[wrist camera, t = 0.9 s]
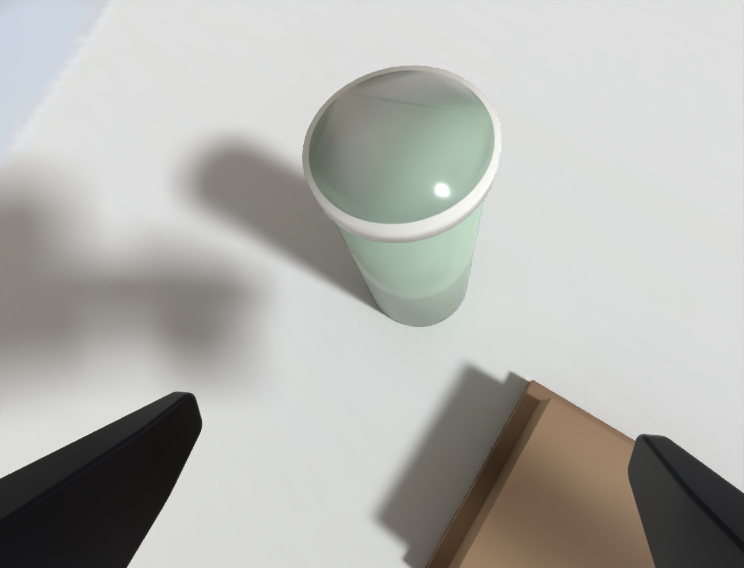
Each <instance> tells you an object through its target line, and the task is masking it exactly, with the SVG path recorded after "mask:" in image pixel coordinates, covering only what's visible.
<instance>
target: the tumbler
mask: <svg viewBox="0 0 744 568" xmlns="http://www.w3.org/2000/svg"><path fill="white" fill-rule="evenodd" d="M501 148H502V132H501V125H500V122H499V118H498V115H497V113H496V111H495V109H494V107H493V105H492V104H491V102H490V101H489V99H488V98H487V97H486V96H485V95H484V93H483V92H482V91H481V90H480V89H479V88H477V87H476V86H475V85H473V84H472V83H471V82H469V81H468V80H466V79H464V78H463V77H461V76H459V75H456V74H454V73H452V72H449V71H446V70H442V69H439V68H433V67H428V66H399V67H391V68H387V69H383V70H379V71H376V72H373V73H370V74H367V75H365V76H363V77H360V78H358V79H356V80H354V81H353V82H351V83H349V84H347V85H346V86H344V87H343V88H342V89H340V90H339V91H337V92H336V93H335V94H334V95H333V96H332V97H331V98H329V99H328V100H327V102H326V103H325V104H324V105H323V106H322V107H321V108H320V110H319V111H318V112H317V114H316V115H315V117H314V119H313V120H312V122H311V124H310V126H309V128H308V131H307V134H306V136H305V141H304V145H303V154H302V159H303V169H304V173H305V177H306V180H307V182H308V185H309V187H310V189H311V191H312V192H313V194H314V196H315V198H316V200H317V202H318V203H319V205H320V207H321V208H322V210H323V211H324V212H325V213H326V215H327V216H328V217H329V218H330V219H331V220H332V221H333V222H335V223H336V225H337V227H338V229H339V231H340V233H341V235H342V237H343V239H344V241H345V243H346V245H347V246H348V248H349V250H350V252H351V254H352V256H353V258H354V260H355V262H356V264H357V266H358V268H359V270H360V272H361V274H362V276H363V278H364V280H365V282H366V284H367V285H368V287H369V289H370V291H371V293H372V295H373V297H374V299H375V301H376V303H377V304H378V306H379V308H380V309H381V310H382V311H383V312H384V313H385V314H386V315H387V316H388V317H389V318H391V319H392V320H394V321H396V322H398V323H401V324H403V325H407V326H413V327H424V326H430V325H434V324H437V323H439V322H442V321H443V320H445V319H447V318H448V317H450V316H451V315H452V314H453V313H454V312H455V311H456V310H457V309H458V308H459V306H460V305H461V303H462V301H463V300H464V297H465V295H466V291H467V286H468V281H469V276H470V271H471V266H472V260H473V255H474V250H475V245H476V240H477V234H478V229H479V224H480V219H481V214H482V209H483V203H484V199H485V197H486V196H487V194H488V192H489V190H490V189H491V187H492V184H493V181H494V179H495V176H496V172H497V167H498V162H499V158H500V153H501Z"/></svg>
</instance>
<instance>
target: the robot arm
mask: <svg viewBox="0 0 744 568" xmlns="http://www.w3.org/2000/svg"><path fill="white" fill-rule="evenodd" d="M201 429H202V418H201V415H200V411H199V408H198V404H197V400H196V397H195V396H194V395H193V394H192V393H189V392H173V393H171V394H169V395H167V396H165V397H163V398H161V399H159V400H157V401H155V402H153V403H151V404H149V405H147V406H145V407H143V408H141V409H139V410H137V411H135V412H133V413H131V414H129V415H127V416H125V417H123V418H121V419H119V420H117V421H115V422H113V423H111V424H109V425H107V426H105V427H103V428H101V429H99V430H97V431H95V432H93V433H91V434H89V435H87V436H85V437H83V438H81V439H79V440H77V441H75V442H73V443H71V444H69V445H67V446H65V447H63V448H61V449H59V450H57V451H55V452H53V453H51V454H49V455H47V456H45V457H43V458H41V459H39V460H37V461H35V462H33V463H31V464H29V465H27V466H25V467H23V468H21V469H19V470H17V471H15V472H13V473H11V474H9V475H7V476H5V477H3V478H1V479H0V568H127V566H128V565H129V563H130V561H131V560H132V558H133V556H134V555H135V553H136V551H137V550H138V548H139V546H140V545H141V543H142V541H143V540H144V538H145V537H146V535H147V533H148V532H149V530H150V528H151V527H152V525H153V523H154V522H155V520H156V518H157V517H158V515H159V513H160V512H161V510H162V508H163V506H164V505H165V503H166V501H167V499H168V498H169V496H170V494H171V492H172V490H173V488H174V486H175V484H176V482H177V480H178V478H179V476H180V474H181V472H182V470H183V467H184V465H185V463H186V461H187V459H188V457H189V455H190V453H191V451H192V449H193V447H194V445H195V443H196V441H197V439H198V437H199V435H200V432H201ZM628 478H629V482H630V485H631V489H632V492H633V495H634V499H635V502H636V505H637V509H638V512H639V515H640V519H641V522H642V525H643V529H644V532H645V535H646V539H647V542H648V545H649V549H650V552H651V555H652V558H653V562H654V565H655V568H744V493H743V492H741V491H740V490H739V489H737V488H736V487H735V486H733V485H732V484H730V483H729V482H728V481H726V480H725V479H724V478H722V477H721V476H720V475H718V474H717V473H715V472H714V471H713V470H711V469H710V468H709V467H707V466H706V465H704V464H703V463H702V462H700V461H699V460H698V459H696V458H695V457H693V456H692V455H691V454H689V453H688V452H687V451H685V450H684V449H683V448H681V447H680V446H678V445H677V444H676V443H674V442H673V441H672V440H670V439H669V438H667V437H665V436H660V435H649V434H641V435H639V436H638V437H637V439H636V441H635V444H634V448H633V451H632V455H631V458H630V461H629V465H628Z"/></svg>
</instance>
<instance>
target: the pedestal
mask: <svg viewBox="0 0 744 568" xmlns="http://www.w3.org/2000/svg"><path fill="white" fill-rule="evenodd" d="M634 444H635V441H634V440H633V439H631V438H629V437H628V436H626V435H624V434H623V433H621V432H619V431H618V430H616V429H614V428H613V427H611V426H609V425H608V424H606V423H604V422H603V421H601V420H599V419H598V418H596V417H594V416H593V415H591V414H589V413H588V412H586V411H584V410H583V409H581V408H579V407H577V406H576V405H574V404H572V403H571V402H569V401H567V400H566V399H564V398H562V397H561V396H559V395H557V394H556V393H554V392H552V391H551V390H549V389H547V388H546V387H544V386H542V385H541V384H539V383H537V382H536V381H534V380H532V381H530V382H529V384H528V386H527V387H526V389H525V391H524V393H523V395H522V396H521V398H520V400H519V402H518V403H517V405H516V407H515V409H514V411H513V412H512V414H511V416H510V418H509V420H508V421H507V423H506V425H505V427H504V428H503V430H502V432H501V434H500V436H499V437H498V439H497V441H496V443H495V444H494V446H493V448H492V450H491V452H490V453H489V455H488V457H487V459H486V461H485V462H484V464H483V466H482V468H481V469H480V471H479V473H478V475H477V477H476V478H475V480H474V482H473V484H472V486H471V487H470V489H469V491H468V493H467V494H466V496H465V498H464V500H463V502H462V503H461V505H460V507H459V509H458V511H457V512H456V514H455V516H454V518H453V519H452V521H451V523H450V525H449V527H448V528H447V530H446V532H445V534H444V536H443V537H442V539H441V541H440V543H439V544H438V546H437V548H436V550H435V552H434V553H433V555H432V557H431V559H430V561H429V562H428V564H427V566H426V568H655V565H654V562H653V558H652V555H651V552H650V549H649V545H648V542H647V539H646V535H645V532H644V529H643V525H642V522H641V519H640V515H639V512H638V509H637V505H636V502H635V499H634V495H633V492H632V489H631V485H630V482H629V478H628V465H629V461H630V458H631V455H632V451H633V448H634Z"/></svg>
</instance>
